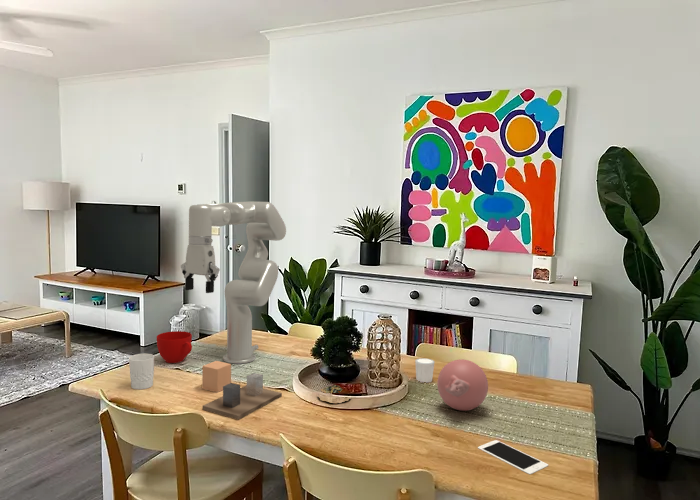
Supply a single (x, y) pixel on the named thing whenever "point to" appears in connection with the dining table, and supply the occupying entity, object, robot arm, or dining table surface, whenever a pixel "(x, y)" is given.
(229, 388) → the dark post
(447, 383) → the pink stress ball
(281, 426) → the dining table surface
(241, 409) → the walnut board
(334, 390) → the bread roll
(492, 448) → the cell phone
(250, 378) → the steel post
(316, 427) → the dining table surface
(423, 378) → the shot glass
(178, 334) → the ceramic cup
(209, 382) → the peach cube
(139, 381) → the white cup
